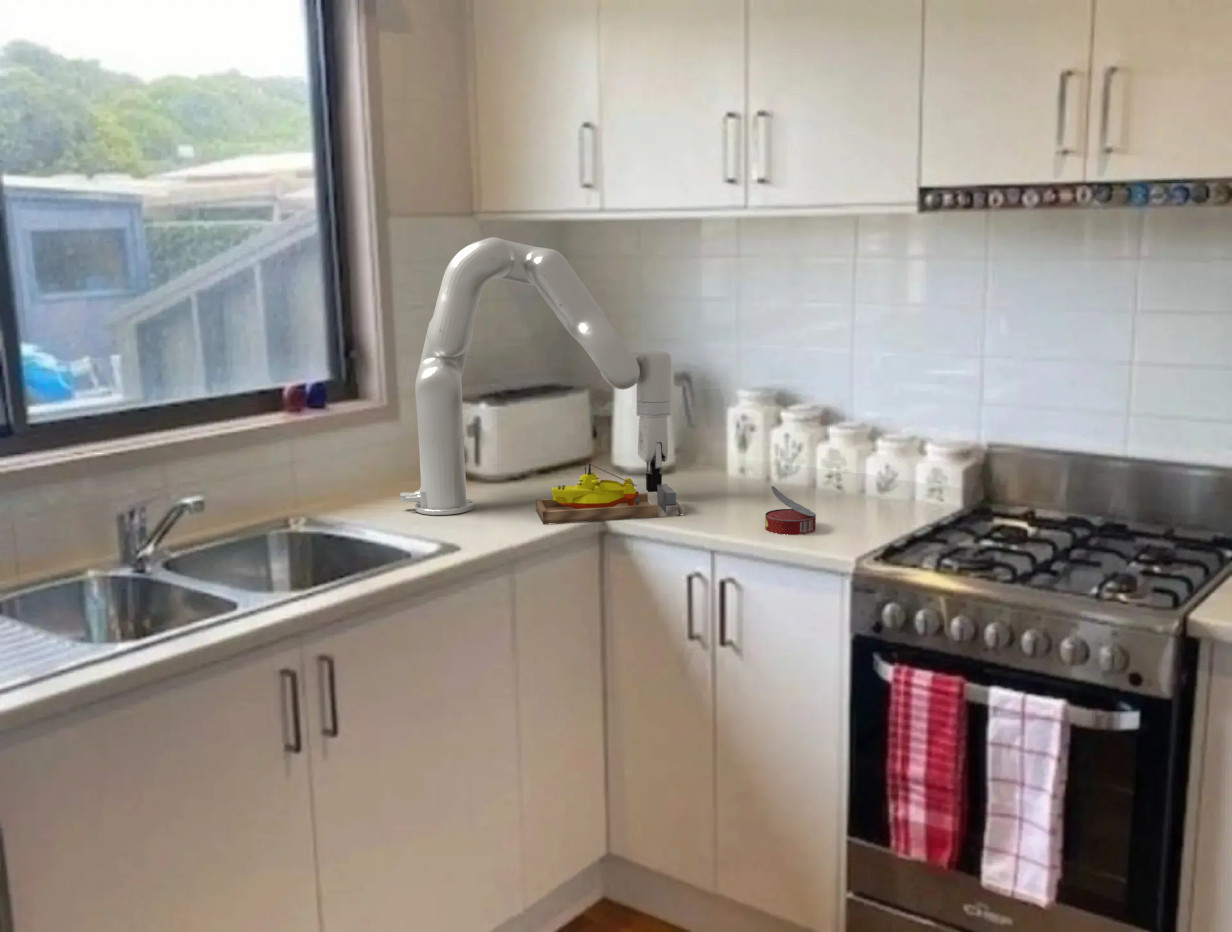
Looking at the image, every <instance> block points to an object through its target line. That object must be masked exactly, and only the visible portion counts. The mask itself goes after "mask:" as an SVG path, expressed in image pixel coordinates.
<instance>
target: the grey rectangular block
mask: <svg viewBox="0 0 1232 932" xmlns="http://www.w3.org/2000/svg"><path fill="white" fill-rule="evenodd" d="M656 493H657V495H656V496H657V497H656V498H657V504H658V505H659V508H660V509H661V510H662V511H663V512H664V513H665V514H666V506H674V505H676V502H677V492H676V491H675V490H674V489H673V488H671V486H669V485H668V484H667V483H662V484H657V492H656Z"/></svg>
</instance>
